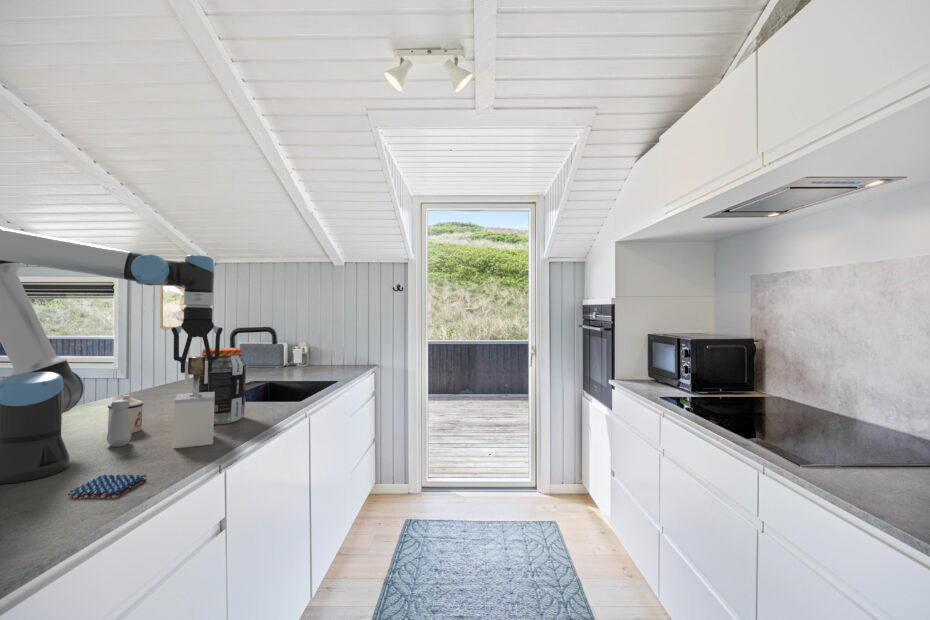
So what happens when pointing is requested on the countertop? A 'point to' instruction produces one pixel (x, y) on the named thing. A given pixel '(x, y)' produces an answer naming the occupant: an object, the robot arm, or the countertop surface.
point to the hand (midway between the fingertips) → (196, 383)
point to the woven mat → (107, 486)
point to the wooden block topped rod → (196, 371)
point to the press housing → (193, 419)
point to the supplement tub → (226, 384)
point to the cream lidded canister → (131, 413)
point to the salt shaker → (119, 424)
